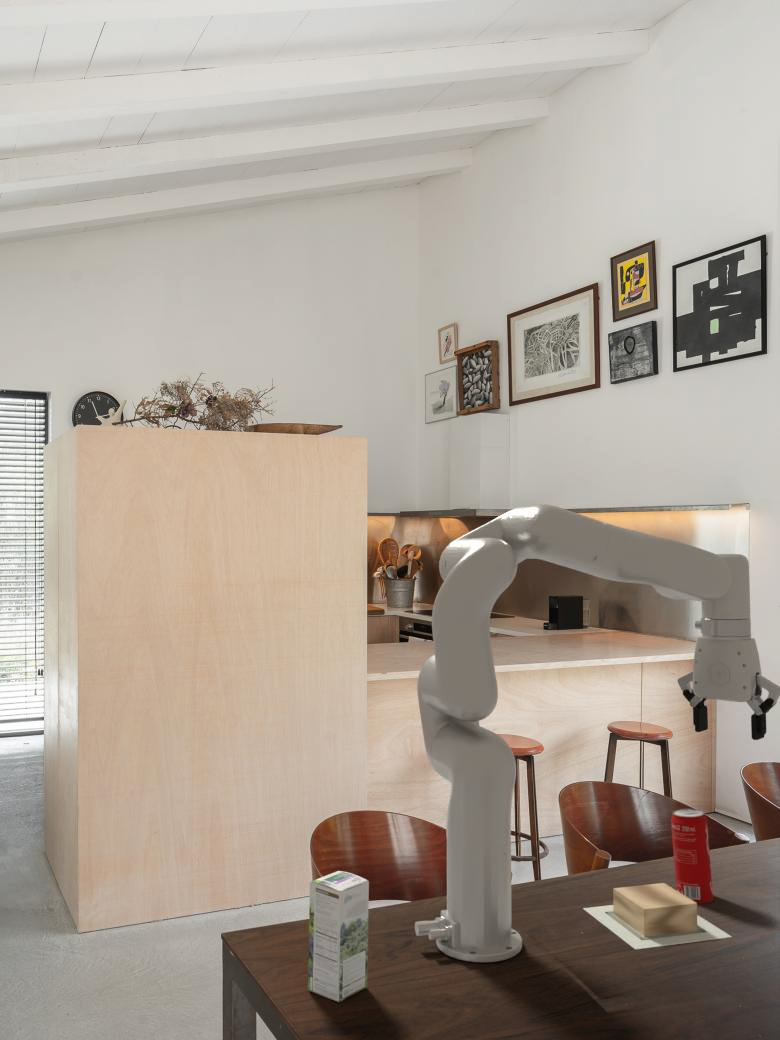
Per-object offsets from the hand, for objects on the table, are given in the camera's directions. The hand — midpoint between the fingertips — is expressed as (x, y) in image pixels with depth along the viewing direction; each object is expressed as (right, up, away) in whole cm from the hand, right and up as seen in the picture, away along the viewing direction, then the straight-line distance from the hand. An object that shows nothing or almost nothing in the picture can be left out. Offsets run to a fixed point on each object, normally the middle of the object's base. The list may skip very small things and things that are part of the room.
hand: (729, 734), depth 152 cm
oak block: (-15, -27, -9) cm, 32 cm away
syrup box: (-62, -28, -28) cm, 74 cm away
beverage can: (-5, -29, +2) cm, 29 cm away
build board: (-15, -28, -9) cm, 33 cm away
